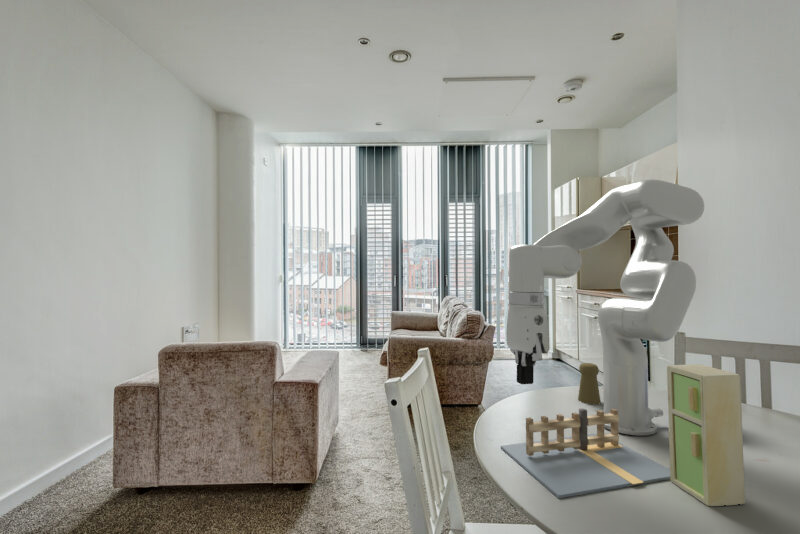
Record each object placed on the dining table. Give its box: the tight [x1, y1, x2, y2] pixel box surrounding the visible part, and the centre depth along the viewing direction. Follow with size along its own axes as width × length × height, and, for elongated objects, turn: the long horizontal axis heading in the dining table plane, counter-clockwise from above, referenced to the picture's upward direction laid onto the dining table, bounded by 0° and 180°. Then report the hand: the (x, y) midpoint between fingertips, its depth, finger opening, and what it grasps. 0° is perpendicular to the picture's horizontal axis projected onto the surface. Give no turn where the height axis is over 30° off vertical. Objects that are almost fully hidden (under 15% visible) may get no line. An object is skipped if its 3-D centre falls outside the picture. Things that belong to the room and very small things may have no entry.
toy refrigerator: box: [666, 363, 746, 507], centre depth 65 cm, size 8×7×21 cm
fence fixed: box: [578, 408, 620, 451], centre depth 81 cm, size 9×2×9 cm, turn 105°
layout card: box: [500, 433, 671, 499], centre depth 75 cm, size 26×20×1 cm
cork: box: [577, 362, 601, 405], centre depth 112 cm, size 6×6×11 cm
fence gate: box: [525, 412, 581, 456], centre depth 78 cm, size 12×1×7 cm, turn 105°
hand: (524, 382), depth 84 cm, fingers closed
